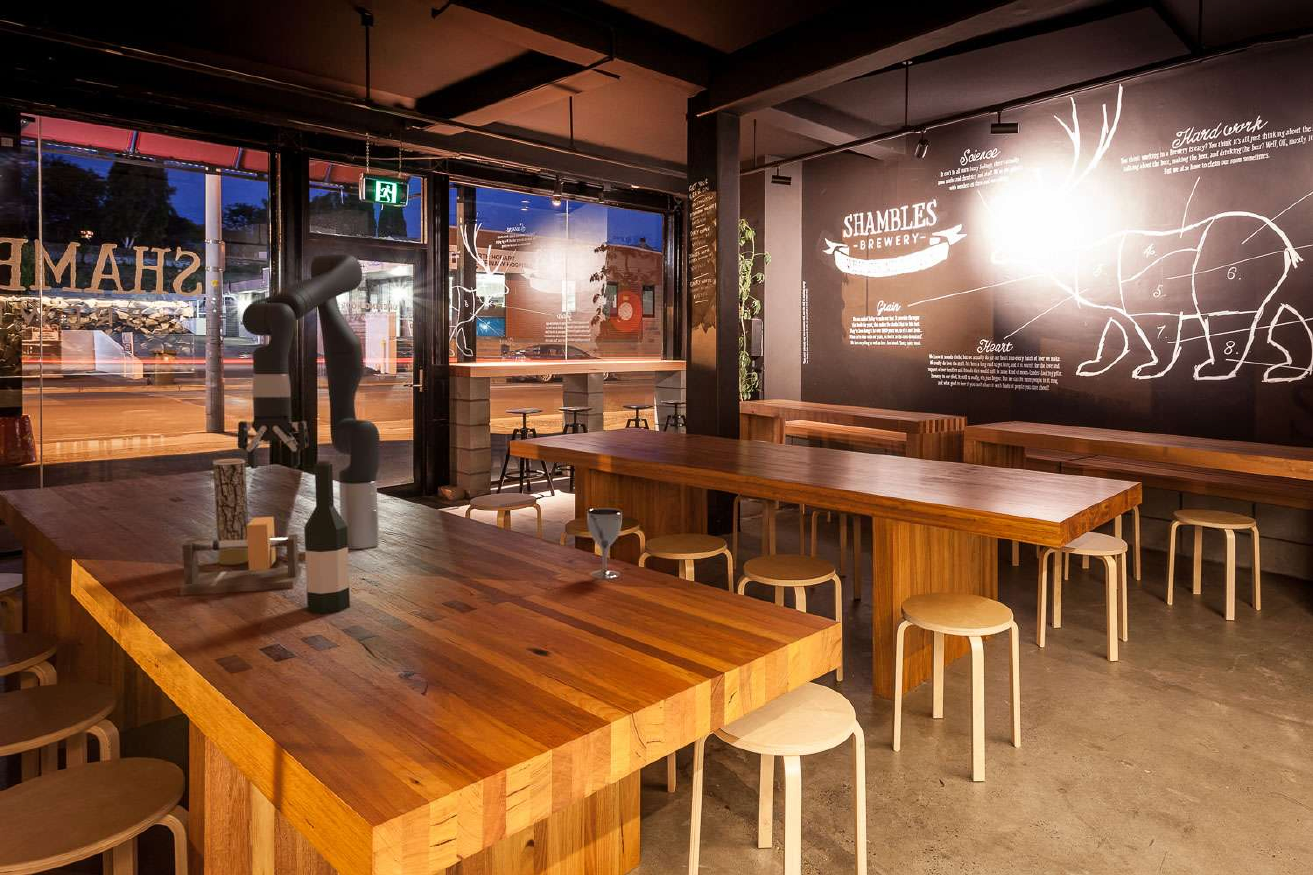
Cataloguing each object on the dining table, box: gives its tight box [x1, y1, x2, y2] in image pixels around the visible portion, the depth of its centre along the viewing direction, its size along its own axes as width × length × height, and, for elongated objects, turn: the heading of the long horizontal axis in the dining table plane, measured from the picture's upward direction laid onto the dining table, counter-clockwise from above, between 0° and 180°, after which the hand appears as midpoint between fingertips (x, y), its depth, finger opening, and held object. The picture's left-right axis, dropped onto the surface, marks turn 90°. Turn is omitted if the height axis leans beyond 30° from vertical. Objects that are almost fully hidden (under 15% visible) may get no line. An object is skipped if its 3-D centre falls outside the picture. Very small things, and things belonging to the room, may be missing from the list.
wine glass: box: [586, 507, 623, 580], centre depth 191 cm, size 8×8×15 cm
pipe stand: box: [179, 534, 302, 596], centre depth 181 cm, size 22×12×10 cm, turn 105°
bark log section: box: [212, 458, 249, 566], centre depth 198 cm, size 7×7×25 cm
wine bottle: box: [303, 459, 351, 615], centre depth 165 cm, size 8×8×30 cm
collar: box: [247, 516, 277, 570], centre depth 182 cm, size 4×8×10 cm, turn 15°
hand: (274, 468), depth 182 cm, fingers open, 8 cm apart
